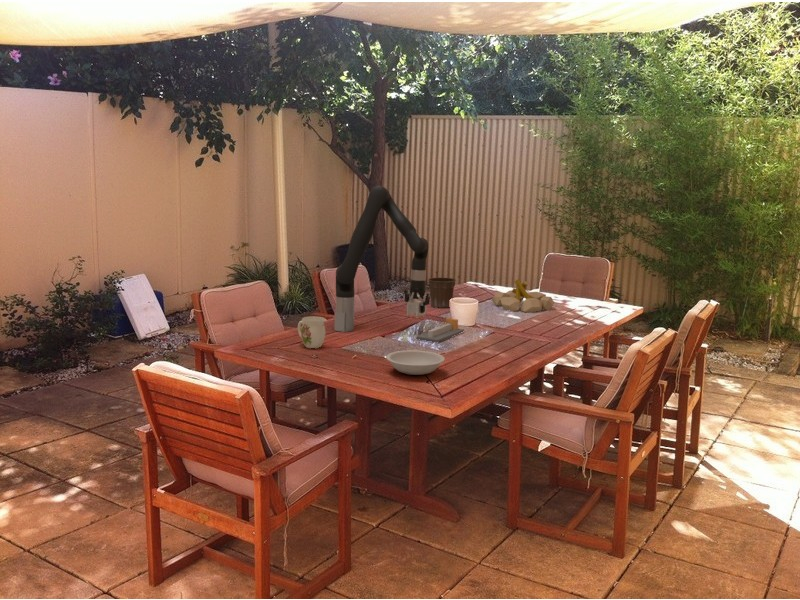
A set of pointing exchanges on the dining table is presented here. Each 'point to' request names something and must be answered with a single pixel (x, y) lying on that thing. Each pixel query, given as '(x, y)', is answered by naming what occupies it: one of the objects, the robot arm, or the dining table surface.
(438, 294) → the plant pot
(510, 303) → the campfire
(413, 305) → the lock block
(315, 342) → the pitcher
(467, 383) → the dining table surface
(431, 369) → the soup bowl
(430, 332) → the coupler stand
